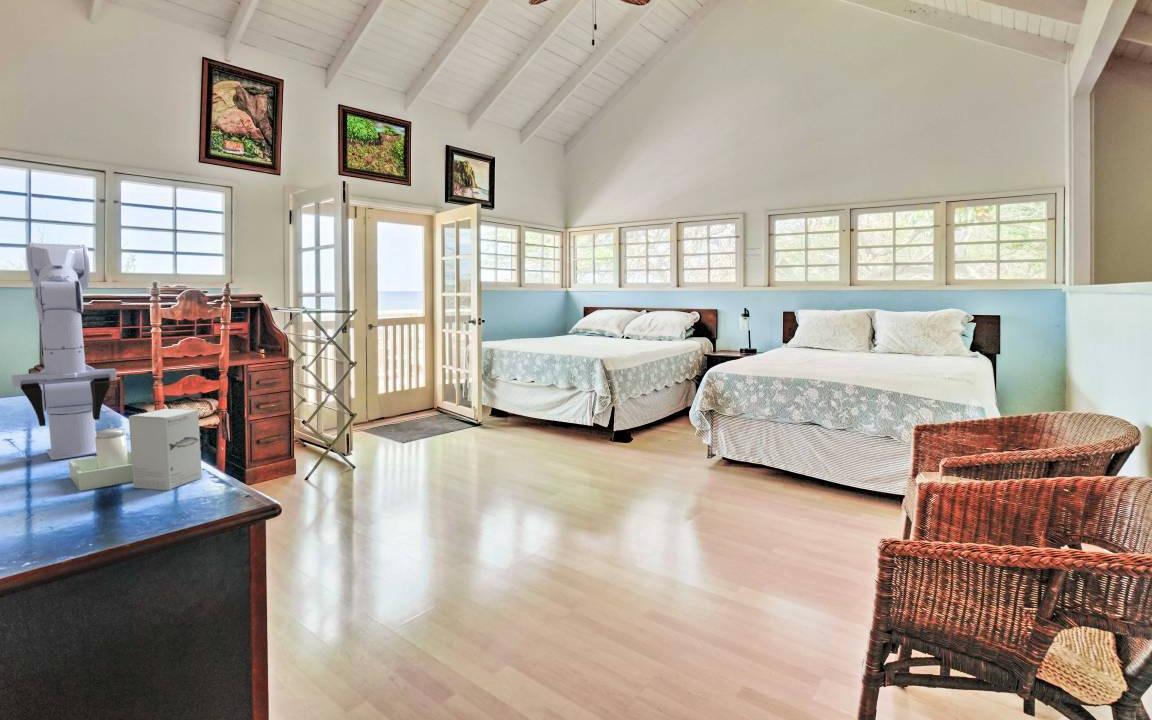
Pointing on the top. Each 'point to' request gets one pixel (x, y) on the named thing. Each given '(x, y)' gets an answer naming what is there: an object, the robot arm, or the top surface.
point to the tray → (98, 473)
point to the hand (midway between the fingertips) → (70, 421)
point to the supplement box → (165, 448)
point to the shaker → (111, 448)
